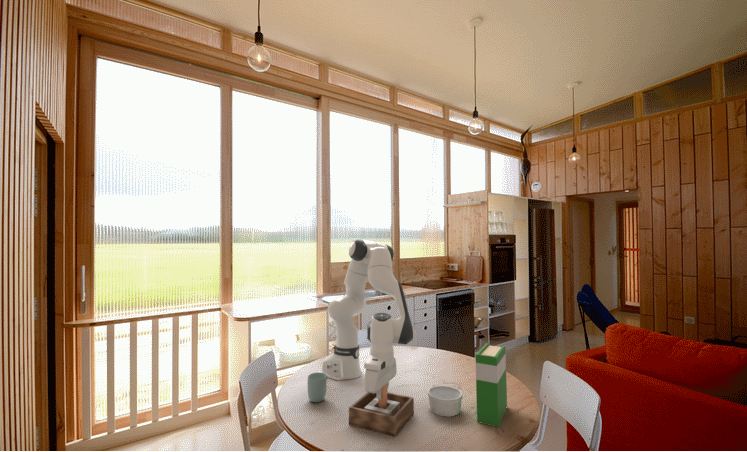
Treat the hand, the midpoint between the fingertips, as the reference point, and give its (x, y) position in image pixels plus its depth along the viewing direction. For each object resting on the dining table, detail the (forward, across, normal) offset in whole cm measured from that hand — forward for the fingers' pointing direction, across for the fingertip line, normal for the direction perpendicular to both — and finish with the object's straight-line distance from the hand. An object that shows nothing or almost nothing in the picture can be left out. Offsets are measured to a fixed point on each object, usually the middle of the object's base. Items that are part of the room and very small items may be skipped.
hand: (382, 396), depth 126 cm
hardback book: (+8, -22, +36) cm, 43 cm away
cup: (+8, -2, -31) cm, 32 cm away
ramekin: (+8, -17, +19) cm, 27 cm away
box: (+8, 0, 0) cm, 8 cm away
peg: (+6, 0, 0) cm, 6 cm away
